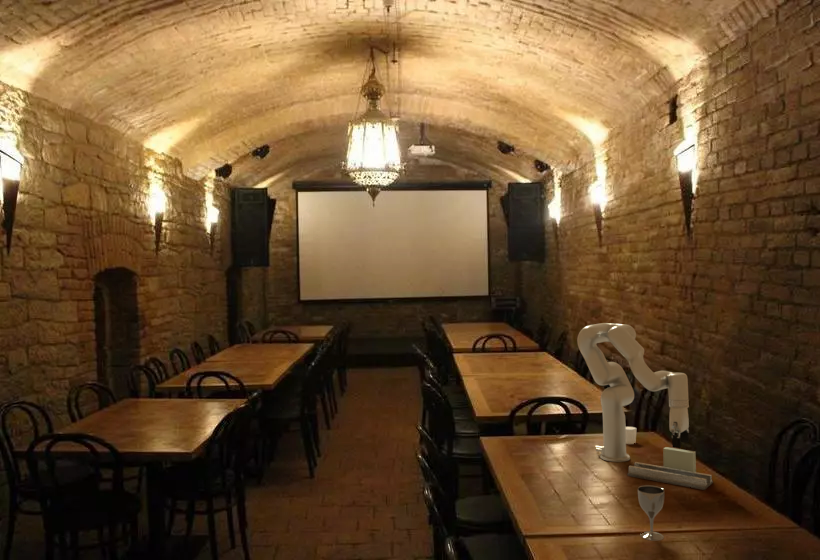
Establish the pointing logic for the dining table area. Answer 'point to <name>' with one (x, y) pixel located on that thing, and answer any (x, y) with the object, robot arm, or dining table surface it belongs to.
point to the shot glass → (630, 435)
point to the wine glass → (651, 507)
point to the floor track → (670, 475)
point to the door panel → (679, 459)
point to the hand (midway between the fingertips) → (680, 444)
